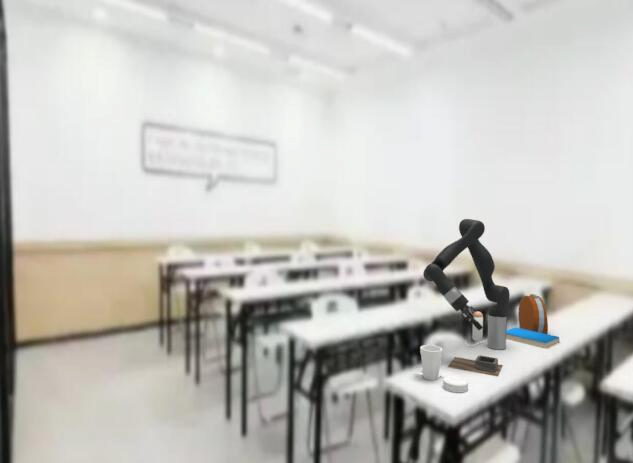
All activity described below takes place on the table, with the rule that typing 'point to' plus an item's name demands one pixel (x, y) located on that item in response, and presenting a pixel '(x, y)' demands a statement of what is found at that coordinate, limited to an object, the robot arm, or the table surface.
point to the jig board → (477, 365)
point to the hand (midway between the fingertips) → (482, 327)
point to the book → (531, 337)
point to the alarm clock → (533, 314)
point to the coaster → (455, 384)
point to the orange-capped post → (476, 333)
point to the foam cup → (431, 361)
